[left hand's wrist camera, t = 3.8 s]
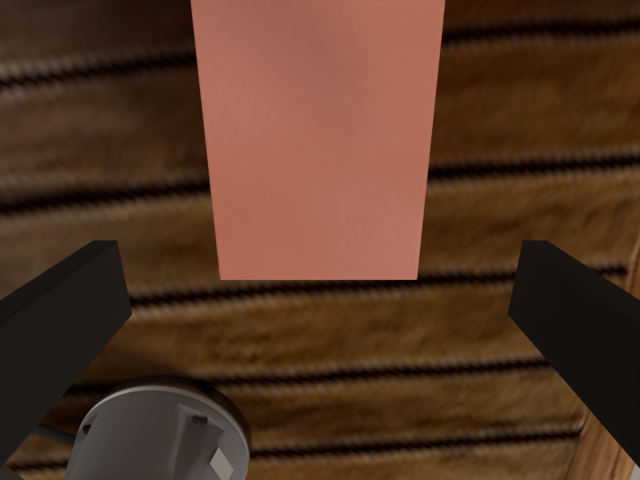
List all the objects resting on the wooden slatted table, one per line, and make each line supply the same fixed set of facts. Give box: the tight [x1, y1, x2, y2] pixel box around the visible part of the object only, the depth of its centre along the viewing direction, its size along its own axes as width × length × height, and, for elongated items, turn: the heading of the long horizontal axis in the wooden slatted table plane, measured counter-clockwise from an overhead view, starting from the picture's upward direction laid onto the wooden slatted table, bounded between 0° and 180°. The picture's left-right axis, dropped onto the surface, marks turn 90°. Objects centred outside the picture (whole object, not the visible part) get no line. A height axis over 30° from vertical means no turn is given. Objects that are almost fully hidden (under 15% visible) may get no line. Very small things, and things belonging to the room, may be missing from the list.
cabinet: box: [191, 0, 445, 280], centre depth 20 cm, size 21×10×9 cm, turn 0°
